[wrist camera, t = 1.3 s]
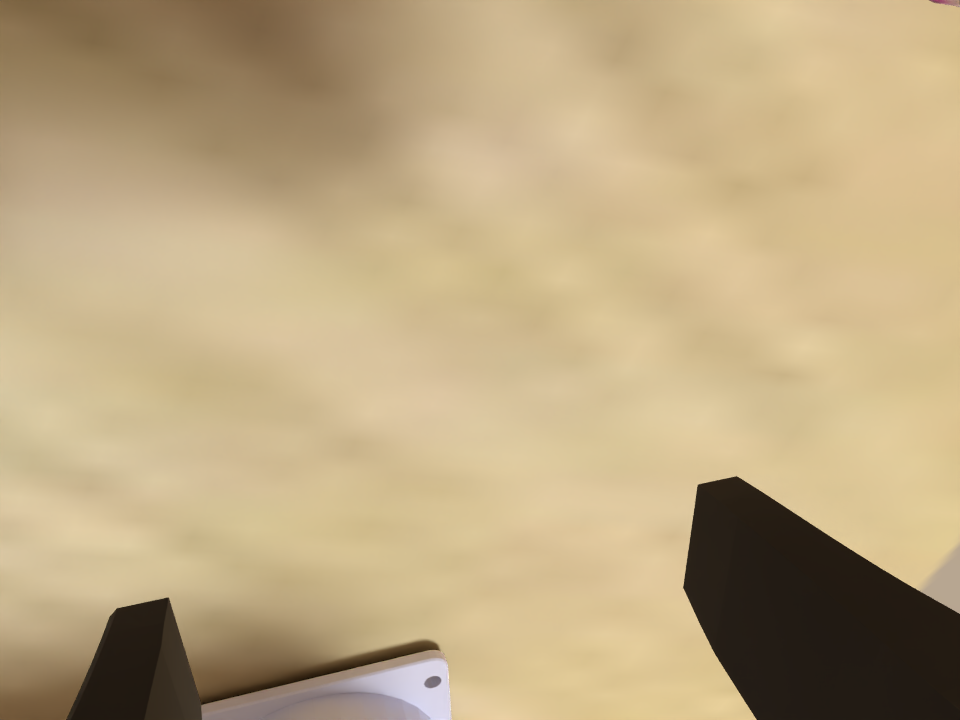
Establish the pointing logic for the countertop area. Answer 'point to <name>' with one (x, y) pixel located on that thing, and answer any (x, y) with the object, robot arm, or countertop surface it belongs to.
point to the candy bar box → (948, 2)
